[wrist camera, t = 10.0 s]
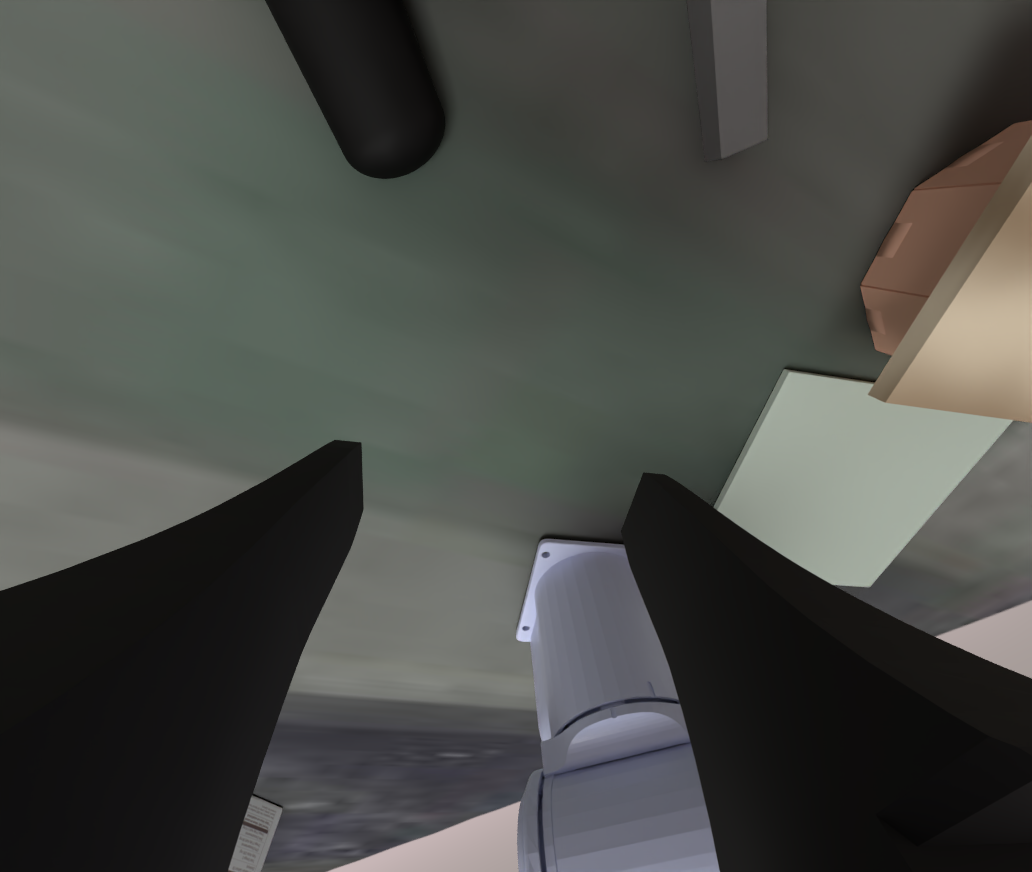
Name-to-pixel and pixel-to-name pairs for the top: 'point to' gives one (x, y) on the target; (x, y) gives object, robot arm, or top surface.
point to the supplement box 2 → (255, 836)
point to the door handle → (415, 104)
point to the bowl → (933, 234)
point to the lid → (976, 318)
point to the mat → (847, 474)
